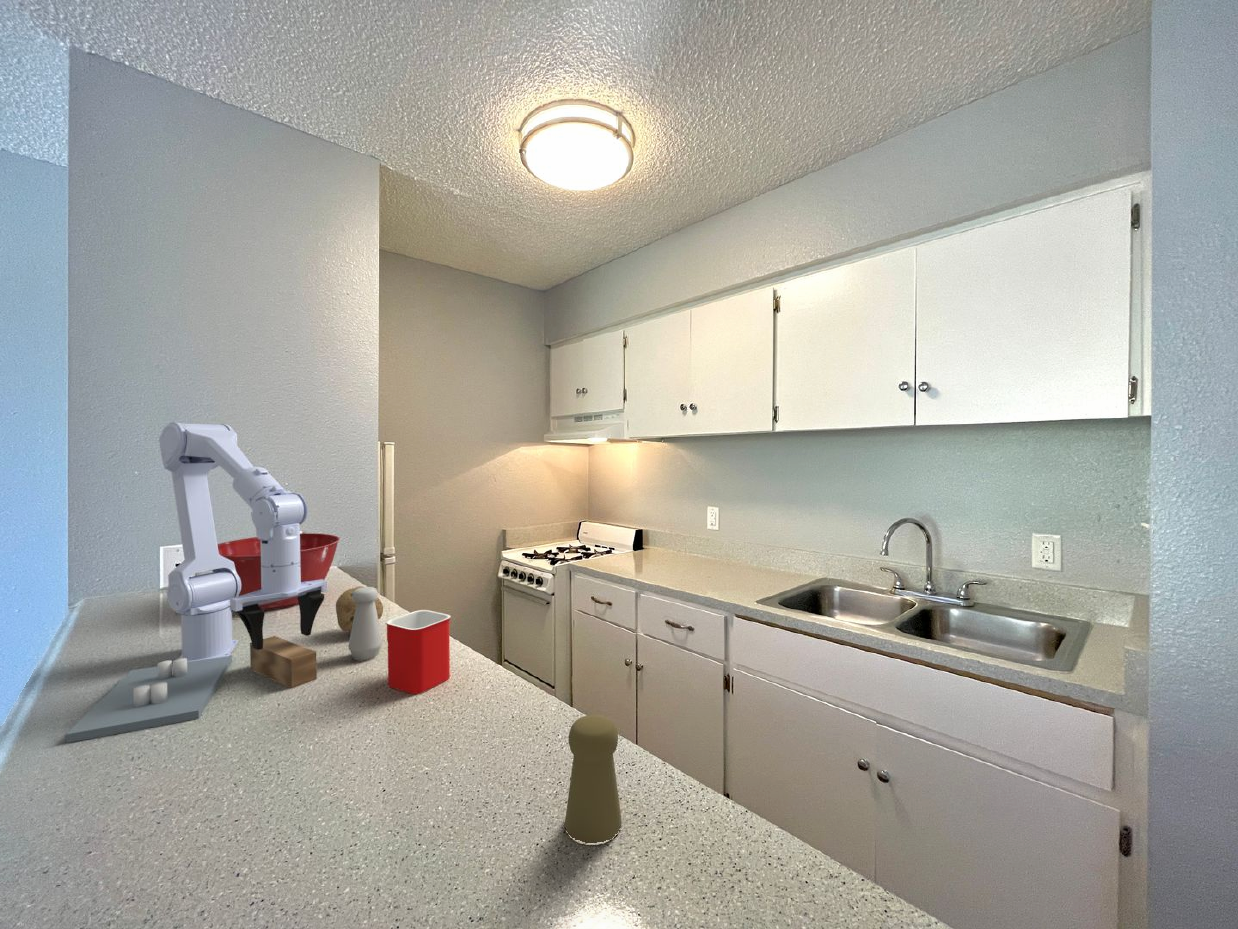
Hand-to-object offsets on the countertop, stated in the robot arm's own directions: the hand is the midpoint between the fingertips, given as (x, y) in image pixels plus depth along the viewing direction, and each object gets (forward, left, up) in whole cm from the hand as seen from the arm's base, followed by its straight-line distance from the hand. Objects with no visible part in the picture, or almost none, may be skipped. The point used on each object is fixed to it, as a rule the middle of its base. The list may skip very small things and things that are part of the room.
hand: (282, 641), depth 89 cm
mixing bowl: (-50, -7, -6) cm, 51 cm away
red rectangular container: (+12, +20, -6) cm, 24 cm away
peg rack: (+1, -16, -6) cm, 17 cm away
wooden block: (0, 0, -6) cm, 6 cm away
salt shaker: (-2, +13, -6) cm, 14 cm away
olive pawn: (+57, +34, -6) cm, 67 cm away
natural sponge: (-16, +12, -6) cm, 21 cm away
